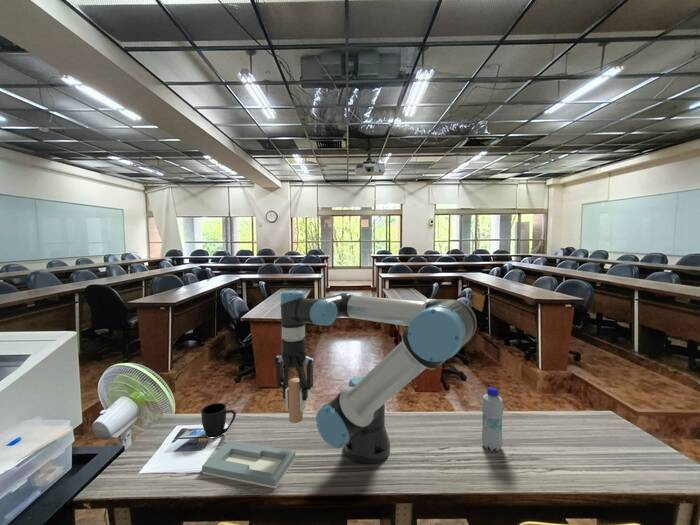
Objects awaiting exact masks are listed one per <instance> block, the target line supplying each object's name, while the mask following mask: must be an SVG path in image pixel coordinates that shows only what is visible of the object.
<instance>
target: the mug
mask: <svg viewBox="0 0 700 525" xmlns="http://www.w3.org/2000/svg"><path fill="white" fill-rule="evenodd" d="M228 413H231V414H232V419H231V421H230V423H229V424H228V426H227V427H226V428H225V426H226V420H227V414H228ZM200 416H201V425H202V428H203V431H204V434H205V436H208V437H217V438H219V437H221V436H222V435H224V434H225V433H227V432H228V430H229V429H230V428H231V426H232V424H233V422H234V420H235V419H236V416H237V411H236V410H235V409H227V405H226V404H225V403H221V402H215V403H211V404H207V405H206V406H204V407H203V408H202V409H201V415H200ZM218 436H219V437H218Z"/></svg>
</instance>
